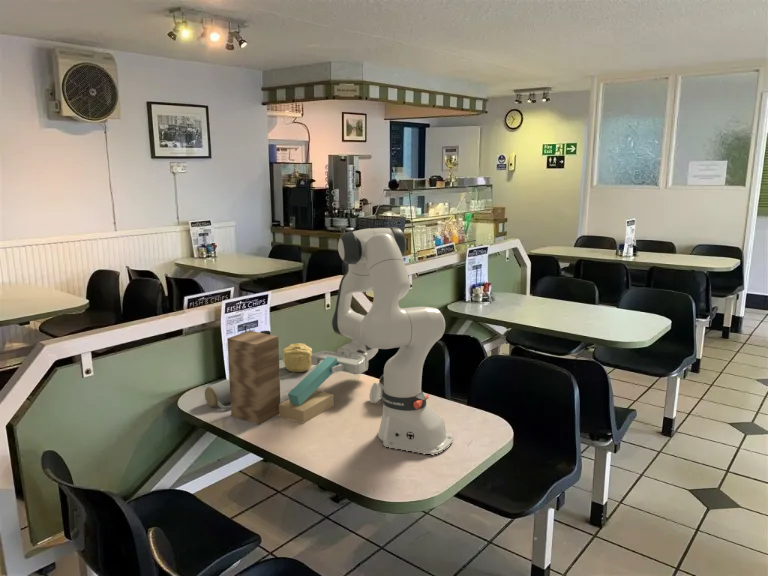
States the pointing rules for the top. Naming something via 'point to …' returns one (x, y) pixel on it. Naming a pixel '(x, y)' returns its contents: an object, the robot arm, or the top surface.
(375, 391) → the spread jar
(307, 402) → the kraft parcel
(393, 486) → the top surface
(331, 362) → the teal carton
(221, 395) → the ceramic mug
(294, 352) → the sculpture
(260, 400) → the walnut stand
